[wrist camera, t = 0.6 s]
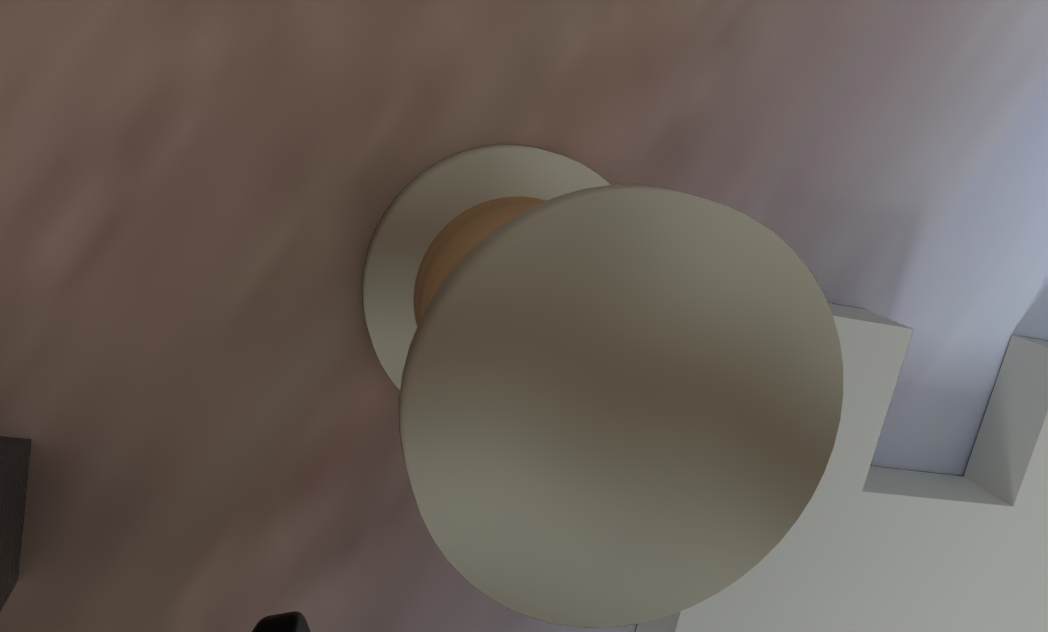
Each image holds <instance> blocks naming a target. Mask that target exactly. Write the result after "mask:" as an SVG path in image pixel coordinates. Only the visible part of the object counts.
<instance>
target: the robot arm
mask: <svg viewBox="0 0 1048 632" xmlns="http://www.w3.org/2000/svg"><path fill="white" fill-rule="evenodd" d="M252 632H310V629H309V627H308V624H307V622H306V620H305V618H304V616H303V615H302V614H301V613H300V612H288V613H283V614H277V615H271V616H267V617H264V618H263V619H261V620H260V621H259V622H258V623H257V625H256V626H255V628H254V629H253V631H252Z"/></svg>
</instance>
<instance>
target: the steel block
mask: <svg viewBox="0 0 1048 632" xmlns="http://www.w3.org/2000/svg"><path fill="white" fill-rule="evenodd" d="M30 447H31V439H24V438H13V437H2V436H0V612H1V610H2V608H3V606H4V604H5V603H6V601H7V599H8V597H9V595H10V594H11V592H12V590H13V588H14V586H15V585H16V583H17V581H18V575H19V564H20V554H21V543H22V532H23V522H24V511H25V500H26V490H27V479H28V468H29V458H30Z"/></svg>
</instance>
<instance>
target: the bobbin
mask: <svg viewBox="0 0 1048 632" xmlns="http://www.w3.org/2000/svg"><path fill="white" fill-rule="evenodd" d="M362 296H363V308H364V313H365V319H366V324H367V327H368V331H369V334H370V337H371V340H372V344H373V347H374V350H375V352H376V354H377V356H378V358H379V361H380V363H381V365H382V367H383V368H384V370H385V372H386V373H387V375H388V376H389V378H390V379H391V381H392V382H393V383H394V384H395V386H396V387H397V388H398V389H399V390H400V397H399V432H400V438H401V444H402V450H403V456H404V461H405V464H406V468H407V472H408V475H409V479H410V482H411V486H412V489H413V492H414V496H415V499H416V502H417V505H418V508H419V511H420V514H421V516H422V518H423V520H424V522H425V524H426V526H427V528H428V530H429V532H430V534H431V536H432V538H433V540H434V541H435V543H436V544H437V546H438V547H439V549H440V550H441V551H442V553H443V554H444V556H445V557H446V559H447V560H448V561H449V562H450V563H451V564H452V565H453V566H454V568H455V569H456V570H457V571H458V572H459V573H460V574H461V575H462V576H463V577H464V578H465V579H466V580H467V581H468V582H470V583H471V584H472V585H473V586H475V587H476V588H477V589H479V590H480V591H481V592H482V593H484V594H485V595H486V596H488V597H489V598H491V599H493V600H495V601H497V602H498V603H500V604H502V605H504V606H505V607H507V608H509V609H511V610H513V611H516V612H519V613H521V614H524V615H526V616H529V617H531V618H534V619H538V620H542V621H546V622H550V623H554V624H558V625H565V626H575V627H584V628H600V627H619V626H626V625H633V624H640V623H644V622H648V621H651V620H655V619H659V618H663V617H666V616H669V615H672V614H674V613H677V612H679V611H682V610H685V609H687V608H690V607H692V606H694V605H696V604H698V603H700V602H702V601H704V600H706V599H708V598H710V597H712V596H714V595H716V594H717V593H719V592H720V591H722V590H723V589H725V588H726V587H728V586H729V585H731V584H732V583H734V582H735V581H737V580H738V579H740V578H741V577H742V576H743V575H745V574H746V573H747V572H748V571H750V570H751V569H752V568H753V567H754V566H756V565H757V564H758V563H759V562H760V561H761V560H762V559H763V558H764V557H765V556H766V555H767V554H768V553H769V552H770V551H771V550H772V549H773V548H774V547H775V546H776V545H777V544H778V543H779V542H780V541H781V540H782V539H783V537H784V536H785V535H786V534H787V532H788V531H789V530H790V529H791V527H792V526H793V525H794V524H795V522H796V521H797V520H798V518H799V517H800V515H801V514H802V512H803V510H804V509H805V507H806V506H807V504H808V503H809V501H810V500H811V498H812V496H813V494H814V492H815V490H816V488H817V486H818V484H819V482H820V480H821V478H822V476H823V474H824V472H825V469H826V467H827V464H828V461H829V458H830V456H831V453H832V450H833V448H834V444H835V440H836V436H837V431H838V427H839V423H840V418H841V409H842V401H843V361H842V353H841V346H840V340H839V336H838V332H837V328H836V325H835V321H834V317H833V314H832V312H831V310H830V307H829V305H828V303H827V300H826V298H825V296H824V293H823V291H822V289H821V288H820V286H819V284H818V283H817V281H816V280H815V278H814V276H813V275H812V273H811V271H810V270H809V268H808V267H807V266H806V265H805V263H804V262H803V261H802V260H801V259H800V257H799V256H798V255H797V254H796V253H795V251H794V250H793V249H792V248H791V247H790V246H789V245H787V244H786V243H785V242H784V241H783V240H782V239H781V238H780V237H778V236H777V235H776V234H775V233H774V232H773V231H772V230H770V229H769V228H767V227H765V226H764V225H762V224H761V223H759V222H758V221H756V220H755V219H753V218H752V217H750V216H748V215H746V214H744V213H742V212H739V211H737V210H735V209H733V208H730V207H728V206H726V205H724V204H721V203H717V202H714V201H711V200H708V199H704V198H701V197H698V196H694V195H691V194H687V193H684V192H680V191H677V190H673V189H670V188H664V187H656V186H649V185H641V184H634V185H611V184H609V183H608V182H607V181H606V180H605V179H603V178H602V177H601V176H600V175H599V174H597V173H596V172H594V171H593V170H591V169H589V168H588V167H586V166H585V165H583V164H581V163H579V162H577V161H574V160H572V159H570V158H568V157H565V156H563V155H559V154H556V153H553V152H549V151H546V150H542V149H539V148H535V147H528V146H521V145H493V146H485V147H478V148H475V149H471V150H467V151H464V152H460V153H458V154H456V155H453V156H451V157H449V158H446V159H444V160H442V161H440V162H438V163H437V164H435V165H433V166H432V167H430V168H428V169H427V170H425V171H424V172H423V173H421V174H420V175H419V176H418V177H416V178H415V179H414V180H412V181H411V182H410V183H409V184H408V185H407V186H406V187H405V188H404V189H403V190H402V191H401V192H400V193H399V194H398V195H397V197H396V198H395V199H394V201H393V202H392V203H391V205H390V206H389V207H388V209H387V210H386V211H385V213H384V215H383V217H382V218H381V220H380V222H379V224H378V226H377V227H376V229H375V232H374V234H373V237H372V240H371V242H370V245H369V247H368V251H367V256H366V260H365V264H364V271H363V281H362Z"/></svg>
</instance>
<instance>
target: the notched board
mask: <svg viewBox="0 0 1048 632" xmlns="http://www.w3.org/2000/svg"><path fill="white" fill-rule="evenodd" d="M828 305H829V307H830V310H831V312H832V314H833V317H834V321H835V325H836V328H837V332H838V336H839V340H840V346H841V353H842V361H843V401H842V409H841V418H840V423H839V427H838V431H837V436H836V440H835V444H834V448H833V450H832V453H831V456H830V458H829V461H828V464H827V467H826V469H825V472H824V474H823V476H822V478H821V480H820V482H819V484H818V486H817V488H816V490H815V492H814V494H813V496H812V498H811V500H810V501H809V503H808V504H807V506H806V507H805V509H804V510H803V512H802V514H801V515H800V517H799V518H798V520H797V521H796V522H795V524H794V525H793V526H792V527H791V529H790V530H789V531H788V532H787V534H786V535H785V536H784V537H783V539H782V540H781V541H780V542H779V543H778V544H777V545H776V546H775V547H774V548H773V549H772V550H771V551H770V552H769V553H768V554H767V555H766V556H765V557H764V558H763V559H762V560H761V561H760V562H759V563H758V564H757V565H756V566H754V567H753V568H752V569H751V570H750V571H748V572H747V573H746V574H745V575H743V576H742V577H741V578H740V579H738V580H737V581H735V582H734V583H732V584H731V585H729V586H728V587H726V588H725V589H723V590H722V591H720V592H719V593H717V594H716V595H714V596H712V597H710V598H708V599H706V600H704V601H702V602H700V603H698V604H696V605H694V606H692V607H690V608H687V609H685V610H682V611H679V612H677V613H674V614H672V615H669V616H666V617H663V618H659V619H655V620H651V621H648V622H644V623H640V624H638V625H637V629H636V632H1048V341H1045V340H1039V339H1033V338H1028V337H1022V336H1016V335H1012V336H1011V339H1010V342H1009V345H1008V348H1007V351H1006V354H1005V357H1004V360H1003V362H1002V365H1001V368H1000V371H999V374H998V377H997V380H996V383H995V386H994V389H993V392H992V395H991V397H990V400H989V403H988V406H987V409H986V412H985V415H984V418H983V421H982V424H981V427H980V429H979V432H978V435H977V438H976V441H975V444H974V447H973V450H972V453H971V456H970V459H969V462H968V464H967V467H966V470H965V473H964V476H955V475H946V474H937V473H928V472H919V471H910V470H901V469H892V468H883V467H874V466H870V465H871V462H872V459H873V455H874V452H875V449H876V446H877V443H878V440H879V437H880V433H881V430H882V427H883V424H884V421H885V418H886V414H887V411H888V408H889V405H890V402H891V399H892V396H893V392H894V389H895V386H896V383H897V380H898V377H899V374H900V370H901V367H902V364H903V361H904V358H905V355H906V351H907V348H908V345H909V342H910V339H911V336H912V333H913V329H912V328H909V327H907V326H905V325H902V324H900V323H897V322H895V321H893V320H890V319H888V318H885V317H883V316H880V315H878V314H876V313H873V312H871V311H868V310H865V309H860V308H854V307H848V306H842V305H836V304H831V303H828Z"/></svg>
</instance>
